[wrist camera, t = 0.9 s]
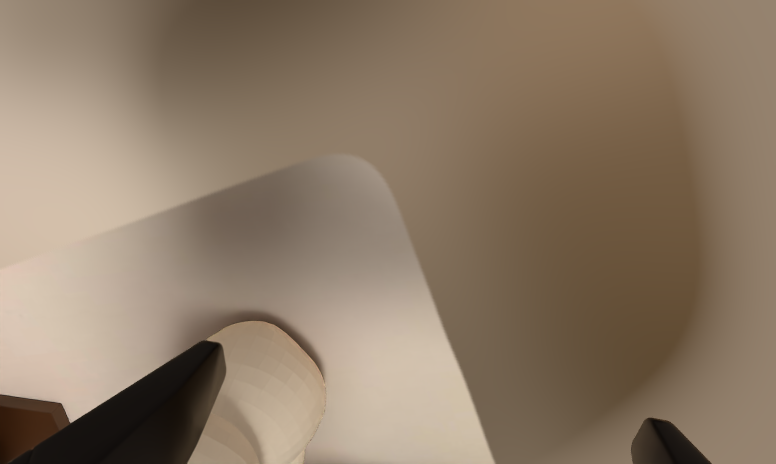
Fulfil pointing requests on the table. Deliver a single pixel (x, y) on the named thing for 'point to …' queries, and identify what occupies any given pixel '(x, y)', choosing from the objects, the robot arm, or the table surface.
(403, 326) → the table surface
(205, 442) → the cat figurine
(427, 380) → the table surface
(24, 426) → the stand
